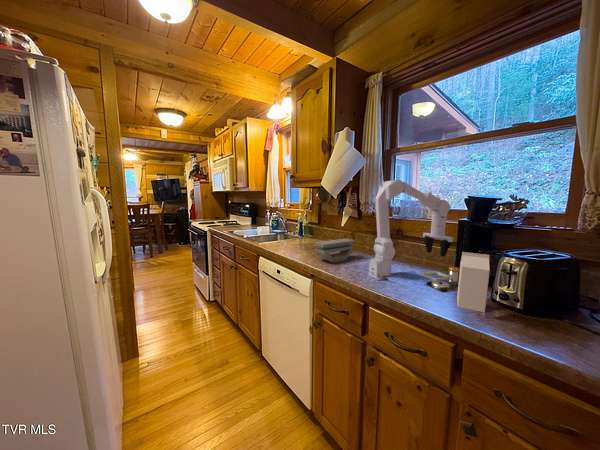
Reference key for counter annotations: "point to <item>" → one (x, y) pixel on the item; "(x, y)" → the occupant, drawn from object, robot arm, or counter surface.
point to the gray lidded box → (335, 249)
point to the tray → (435, 278)
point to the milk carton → (473, 281)
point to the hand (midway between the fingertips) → (435, 254)
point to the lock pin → (453, 276)
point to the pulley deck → (442, 286)
